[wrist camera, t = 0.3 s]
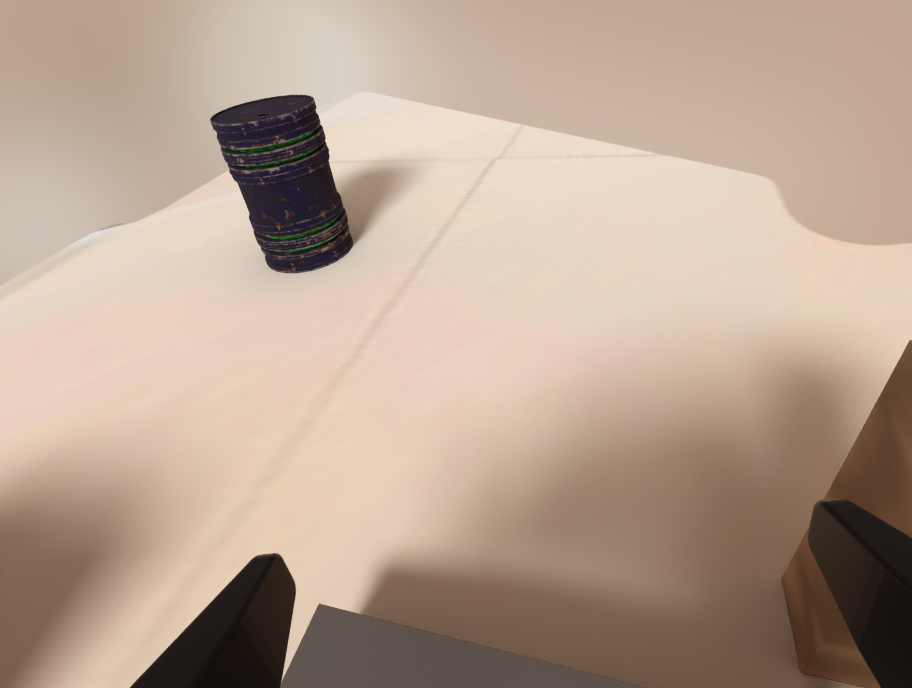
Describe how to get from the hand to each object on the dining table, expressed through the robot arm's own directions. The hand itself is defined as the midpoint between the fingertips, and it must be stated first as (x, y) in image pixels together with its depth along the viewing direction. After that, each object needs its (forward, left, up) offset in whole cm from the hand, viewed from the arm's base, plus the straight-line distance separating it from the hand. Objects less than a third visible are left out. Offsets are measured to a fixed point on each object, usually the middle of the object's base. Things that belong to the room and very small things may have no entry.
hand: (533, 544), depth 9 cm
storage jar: (+48, +17, -17) cm, 53 cm away
